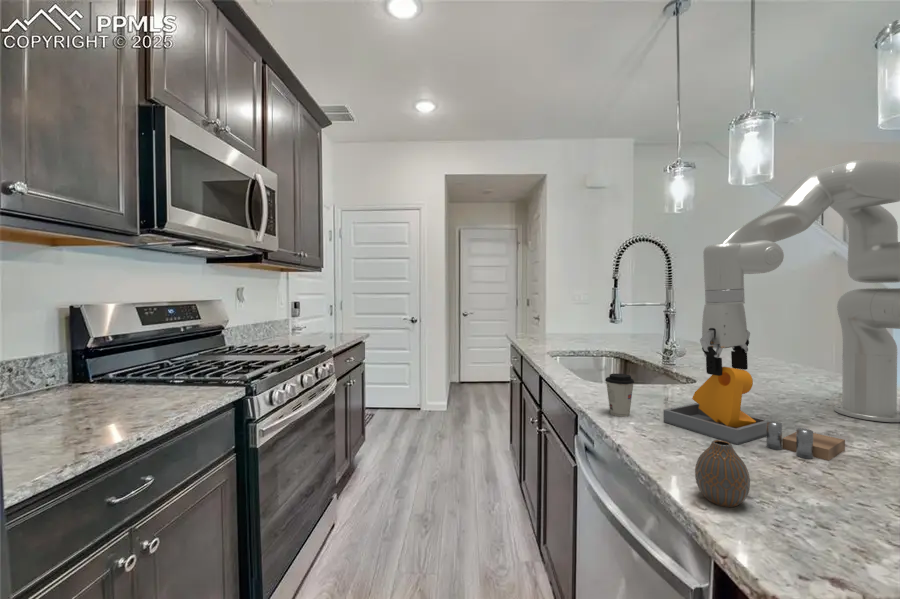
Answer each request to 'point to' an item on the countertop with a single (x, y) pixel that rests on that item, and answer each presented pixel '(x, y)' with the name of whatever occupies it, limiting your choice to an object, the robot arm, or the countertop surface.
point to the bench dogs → (802, 439)
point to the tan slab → (818, 445)
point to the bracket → (725, 397)
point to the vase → (722, 475)
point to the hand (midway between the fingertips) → (727, 371)
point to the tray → (713, 425)
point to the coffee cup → (619, 394)
